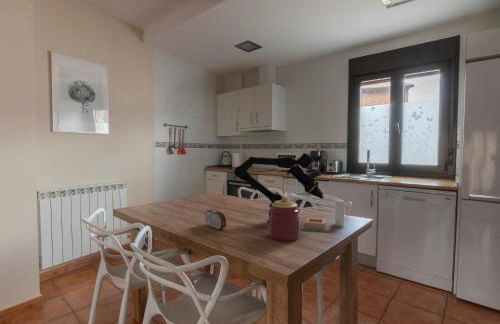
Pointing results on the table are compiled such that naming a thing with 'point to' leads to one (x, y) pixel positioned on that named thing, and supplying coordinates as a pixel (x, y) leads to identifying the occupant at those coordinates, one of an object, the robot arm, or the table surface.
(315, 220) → the pocket board
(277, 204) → the canister
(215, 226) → the tin
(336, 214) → the steel square bar
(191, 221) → the table surface
